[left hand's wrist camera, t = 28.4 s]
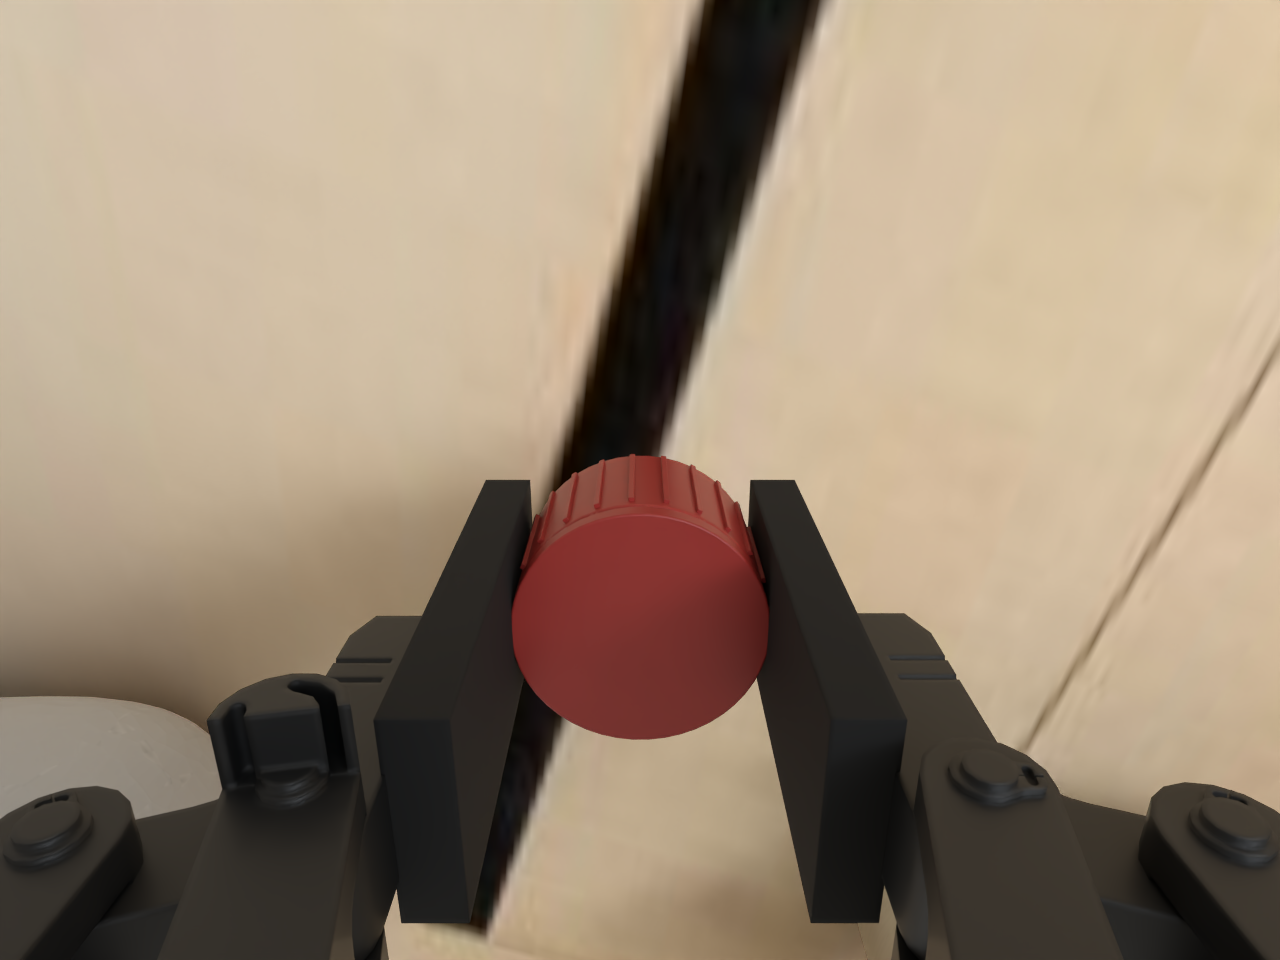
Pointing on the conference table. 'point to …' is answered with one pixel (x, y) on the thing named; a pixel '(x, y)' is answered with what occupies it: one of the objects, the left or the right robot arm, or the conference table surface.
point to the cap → (640, 600)
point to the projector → (104, 753)
